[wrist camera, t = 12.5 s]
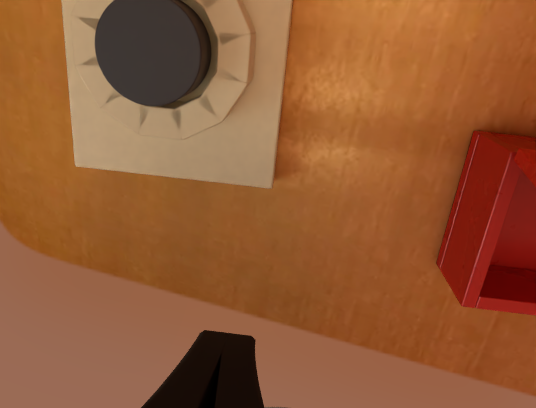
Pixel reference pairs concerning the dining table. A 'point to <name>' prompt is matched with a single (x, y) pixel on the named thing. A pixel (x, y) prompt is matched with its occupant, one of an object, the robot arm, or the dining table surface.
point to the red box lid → (527, 163)
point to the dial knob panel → (187, 99)
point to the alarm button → (152, 50)
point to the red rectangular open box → (493, 228)
